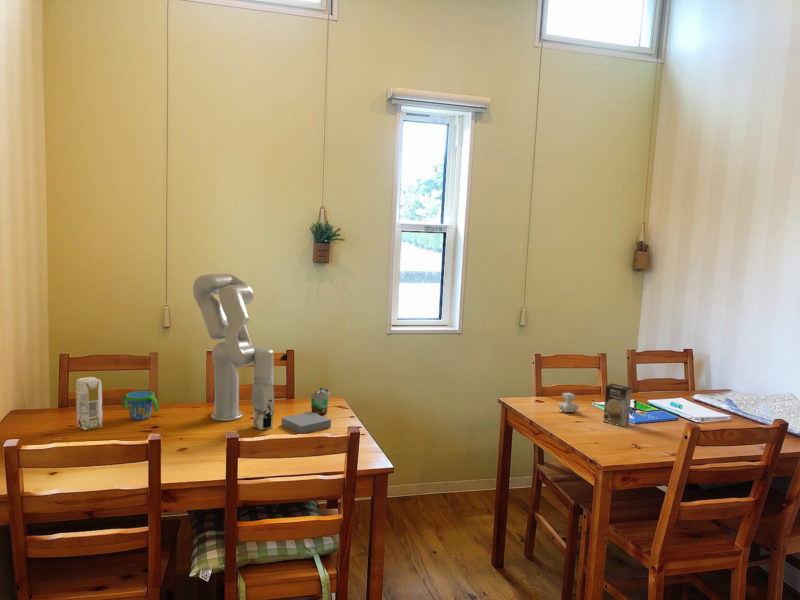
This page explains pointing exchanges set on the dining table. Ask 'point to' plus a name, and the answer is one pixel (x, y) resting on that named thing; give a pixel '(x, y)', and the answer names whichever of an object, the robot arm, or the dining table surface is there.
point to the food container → (320, 401)
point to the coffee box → (617, 404)
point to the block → (260, 419)
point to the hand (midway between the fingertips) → (263, 424)
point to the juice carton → (89, 403)
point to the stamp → (568, 403)
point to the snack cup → (140, 404)
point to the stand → (306, 422)
